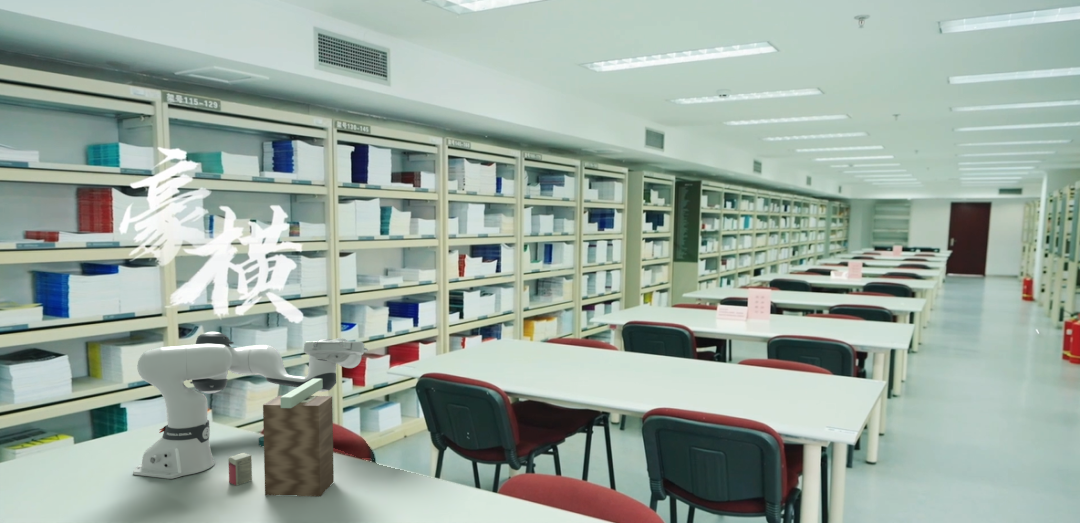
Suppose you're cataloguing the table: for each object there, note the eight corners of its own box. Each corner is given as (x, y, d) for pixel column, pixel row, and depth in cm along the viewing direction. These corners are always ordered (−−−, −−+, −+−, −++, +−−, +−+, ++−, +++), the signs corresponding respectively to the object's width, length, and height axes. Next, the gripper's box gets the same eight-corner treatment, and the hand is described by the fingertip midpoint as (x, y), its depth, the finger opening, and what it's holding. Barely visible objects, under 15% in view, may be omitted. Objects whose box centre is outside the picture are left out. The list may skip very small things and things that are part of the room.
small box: (244, 477, 192) (244, 451, 192) (252, 480, 190) (251, 454, 189) (228, 482, 188) (227, 456, 188) (236, 486, 186) (235, 459, 185)
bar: (280, 407, 175) (280, 397, 174) (313, 388, 197) (313, 378, 196) (291, 408, 174) (291, 397, 174) (322, 388, 196) (322, 378, 196)
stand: (265, 495, 179) (263, 404, 178) (281, 481, 189) (279, 395, 188) (320, 496, 179) (318, 405, 177) (333, 482, 188) (332, 396, 187)
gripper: (368, 359, 225) (357, 353, 212) (311, 359, 225) (296, 353, 212) (370, 342, 227) (359, 334, 214) (313, 342, 227) (299, 334, 214)
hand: (327, 343), depth 213 cm, fingers open, 8 cm apart
